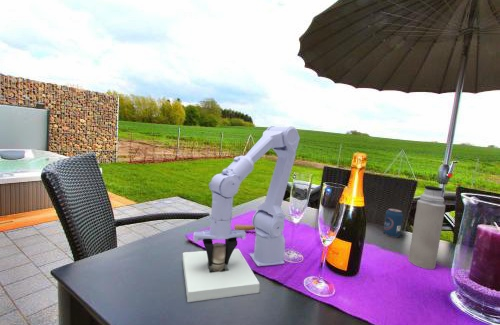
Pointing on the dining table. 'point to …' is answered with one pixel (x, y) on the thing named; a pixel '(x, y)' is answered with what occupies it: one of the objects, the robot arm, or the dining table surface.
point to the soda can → (393, 222)
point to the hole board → (217, 277)
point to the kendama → (245, 227)
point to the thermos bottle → (427, 228)
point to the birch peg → (218, 257)
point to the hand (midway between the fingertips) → (218, 263)
